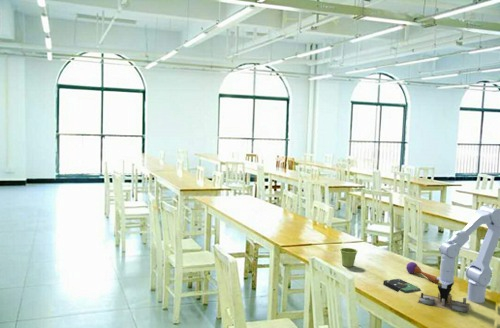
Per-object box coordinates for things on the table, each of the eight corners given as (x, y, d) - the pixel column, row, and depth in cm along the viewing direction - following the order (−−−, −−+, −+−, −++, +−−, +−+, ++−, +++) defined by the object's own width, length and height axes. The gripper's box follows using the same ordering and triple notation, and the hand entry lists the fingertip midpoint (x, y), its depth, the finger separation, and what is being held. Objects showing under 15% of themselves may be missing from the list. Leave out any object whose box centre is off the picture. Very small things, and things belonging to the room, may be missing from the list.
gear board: (422, 296, 216) (422, 286, 216) (469, 306, 207) (470, 296, 206) (417, 305, 205) (418, 295, 204) (467, 316, 195) (468, 305, 195)
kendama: (432, 276, 234) (404, 262, 252) (432, 287, 235) (404, 272, 253) (441, 273, 236) (412, 259, 254) (441, 284, 238) (412, 269, 255)
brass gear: (438, 297, 212) (439, 291, 212) (452, 300, 210) (452, 293, 209) (437, 301, 207) (437, 294, 207) (450, 304, 205) (451, 297, 204)
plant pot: (356, 269, 253) (357, 253, 252) (339, 267, 255) (340, 251, 254) (356, 264, 262) (357, 248, 261) (339, 262, 264) (340, 247, 263)
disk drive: (382, 286, 230) (404, 296, 216) (383, 280, 230) (405, 290, 216) (398, 283, 234) (421, 293, 221) (399, 278, 234) (421, 288, 221)
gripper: (439, 264, 215) (437, 292, 217) (435, 272, 203) (432, 302, 204) (456, 267, 212) (453, 296, 213) (453, 275, 199) (450, 306, 201)
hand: (444, 299), depth 208 cm, fingers open, 7 cm apart
